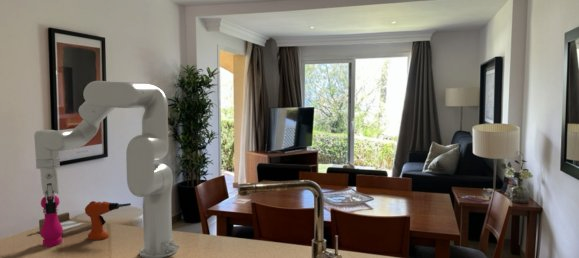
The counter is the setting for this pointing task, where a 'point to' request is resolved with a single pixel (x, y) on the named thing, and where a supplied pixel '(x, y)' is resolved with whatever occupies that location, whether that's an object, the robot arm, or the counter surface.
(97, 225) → the toy drill
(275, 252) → the counter surface
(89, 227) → the brown picture frame
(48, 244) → the pepper mill
